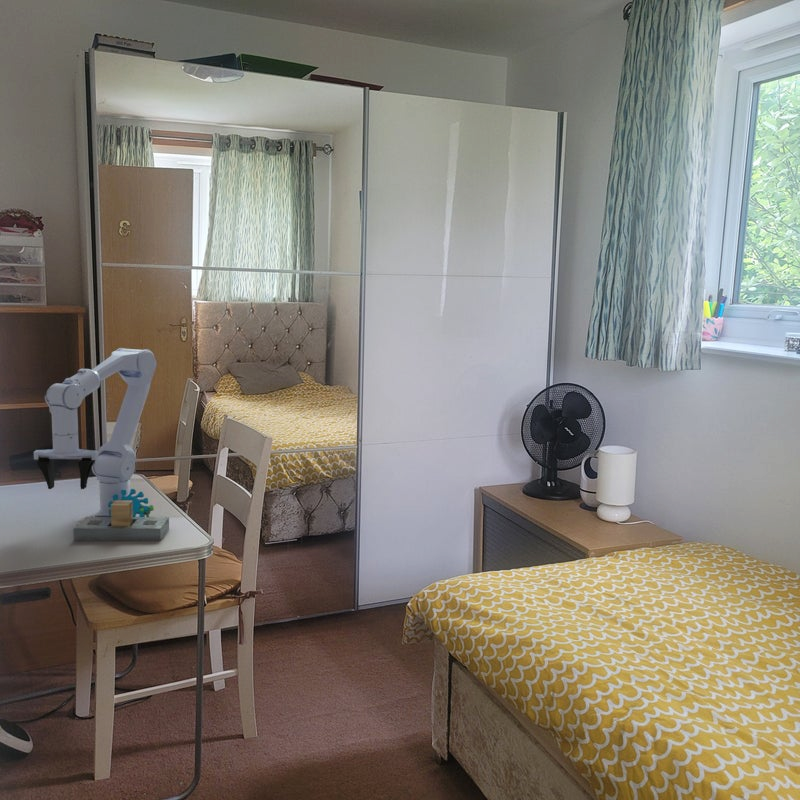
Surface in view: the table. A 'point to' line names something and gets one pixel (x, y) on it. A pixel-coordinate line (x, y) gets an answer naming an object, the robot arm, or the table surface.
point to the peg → (122, 513)
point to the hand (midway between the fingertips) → (67, 488)
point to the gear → (134, 503)
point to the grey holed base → (121, 529)
